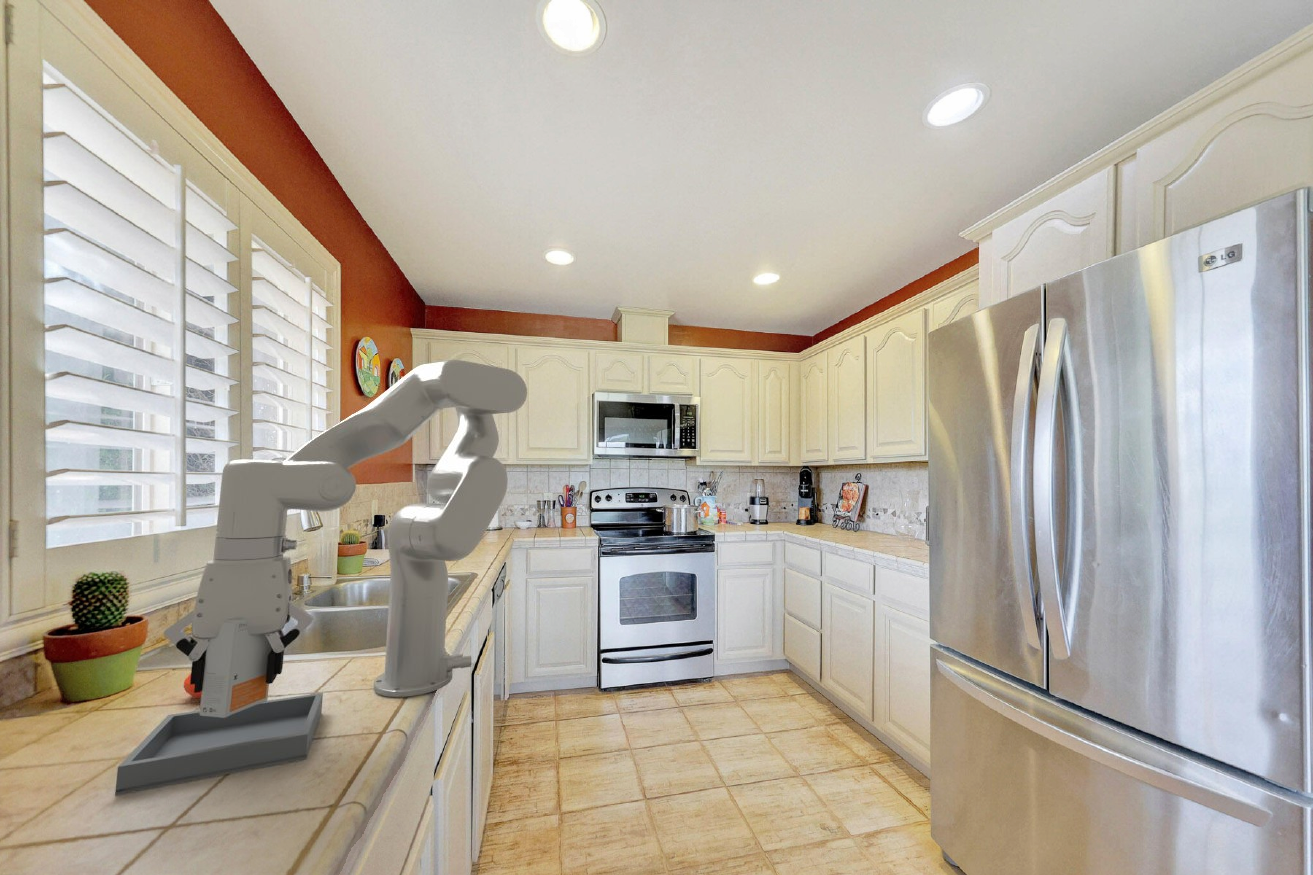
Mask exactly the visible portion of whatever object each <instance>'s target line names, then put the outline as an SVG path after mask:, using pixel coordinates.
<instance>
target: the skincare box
mask: <svg viewBox="0 0 1313 875" xmlns="http://www.w3.org/2000/svg"><path fill="white" fill-rule="evenodd" d="M271 648H272V647H271V645H270V643H269V641H268V639H267V637H266V635H265V634H264V635H254V636H252V635H249V634H248V630H247V623H246V620H245V619H240V620H226V621H224V622H223V624H222V626H221V629H220V632H219V634H218V637H216V638H214V639H211V640H210V644H209V645H208V647H207V650H206V659H205V668H204V677H203V686H202V695H201V698H200V705H199V710H200V713H199V714H200V715H201V716H210V717H220V718H226V717H228V716H230V715H232V714H235V713H237V712H240V711H242V710H245V709H247V708H250V707H252V706H255V705H257V704H260V703H263V702H266V701H268V698H269V697H268V695H269V689H270V688H269V687H270V684H267V683H266V673H267V662H268V654H269V653H270V652H271Z"/></svg>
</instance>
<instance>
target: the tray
mask: <svg viewBox="0 0 1313 875" xmlns="http://www.w3.org/2000/svg"><path fill="white" fill-rule="evenodd" d="M323 697H324V693H323V692H318V693H311V694H304V695H299V696H298V695H297V696H290V697H285V698H276V699H270V700H267V701H266V702H263V703H260V704H257V705H255V706H252V707H250V708H247V709H245V710H242V711H240V712H237V713H235V714H232V715H230V716H228V717H226V718H220V717H210V716H201V715H200V714H199V713H200V709H199V710H193V711H187V712H186V711H185V712H179V713H174V714H172V713H171V714H168V715H167V716H165V718H164V719H163V720H161V722H160V723H159V724H158V725H157V726H156V727H155V728H154V729H153V730H152V731H151V732H150V733H149V734H148V735H147V736H146V737H145V738H144V739H143V740H142V742H141V743H140V744H138V746H136V748H135V749H134V750H133V751H132V752H130V753H129V755H128V756H127V757H126V758H125V759H124V760H123V761H122V762H121V763H119V765H118V766H117V772H116V783H115V791H114V796H115V797H116V796H121V795H124V794H130V793H131V794H132V793H135V792H136V793H137V792H140V791H141V792H142V791H146V790H152V789H157V788H162V787H168V786H171V785H172V786H174V785H177V784H184V783H187V782H188V783H190V782H194V781H199V780H204V779H209V778H214V777H221V776H225V775H230V774H237V773H241V772H247V771H250V770H252V771H253V770H257V769H263V768H267V767H272V766H273V767H274V766H277V765H283V764H287V763H288V764H289V763H293V762H297V761H304V760H307V757H308V755H309V751H310V749H311V746H312V743H313V740H314V737H315V734H316V730H317V728H318V725H319V721H320V720H321V717H322V712H323V710H322V708H323Z"/></svg>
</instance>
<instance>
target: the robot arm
mask: <svg viewBox="0 0 1313 875" xmlns="http://www.w3.org/2000/svg"><path fill="white" fill-rule="evenodd" d="M527 397H528V388H527V384H526V382H525V381H524V378H523V377H521V375H520V374H519V373H517V372H516V371H514V370H512V369H508V368H504V367H500V366H499V367H498V366H494V365H493V366H492V365H488V364H482V363H476V362H472V361H466V360H462V359H461V360H460V359H448V360H442V361H435V362H429V363H425V364H421V365H418V366H416V367H415V368H413V369H411V370H410V371H409V372H408V373H407V374H406V375H404V376H403V377H402V378H400V379H399V380H397V381H396V382H395V383H394V384H393V385H392V386H390V387H389V388H388V389H387V390H386V391H384V392H383V393H382V394H381V395H379V396H378V397H377V398H375V399H374V400H373V401H372V402H370V403H369V404H367V406H365V407H363V408H362V409H360V410H359V411H357V412H355V413H353V414H351V415H350V416H348V417H347V418H344V420H342V421H340V422H339V423H337V424H335V425H334V426H331V427H330V428H328V429H326V430H325V431H323V432H321V433H320V434H318V435H317V436H315V437H313V438H312V439H311V440H309V441H308V442H307V443H305V444H304V445H303V446H301V447H300V448H298V450H296V451H295V452H293V454H291V455H290V456H289V457H287V458H286V459H285V460H283V461H278V460H271V459H270V460H267V459H234V460H231V461H228V462H227V463H226V464H225V465H224V466H223V469H222V473H221V483H220V492H219V493H220V494H219V503H218V509H217V510H218V512H217V523H216V531H215V542H214V550H213V559H210V560H208V561H207V562H206V565H205V567H204V570H203V572H202V576H201V580H200V582H199V585H198V590H197V595H196V598H195V603H194V609H193V610H191V611H190V612H189V613H188V614H186V615H185V616H183V617H182V618H180V619H179V620H177V621H176V622H175V623H173V624H172V625H170V626H169V627H168V628H166V629H165V630H164V631H163V636H164V637H165V638H166V639H167V640H169V642H170V643H172V644H174V646H176V649H177V650H179V651H180V652H182V653H183V654H184V655H185V656H187V658H188V660H189V661H190V662H191V672H190V674H191V679H190V684H191V685H192V684H195V688H194V693H198V692H201V691H202V686H203V677H204V668H205V659H206V650H207V647H208V645H209V644H210V640H211V639H214V638H216V637H218V634H219V632H220V629H221V626H222V624H223V622H224V621H226V620H240V619H245V620H246V623H247V630H248V634H249V635H252V636H254V635H264V634H265V635H266V637H267V639H268V641H269V643H270V645H271V647H272V648H271V652H270V653H269V654H268V662H267V673H266V683H267V684H269V685H270V684H273V683H274V681H275V680H276V678H277V676H278V675H281V674H282V673H283V666H284V656H285V654H284V653H285V649H286V648H287V647H288V646H290V644H291V643H293V641H295V640H296V639H297V638H298V637H299V636H300V635H301V634H302V633H303V632H304V631H305V630H306V629H307V628H308V627H309V626H310V625H312V622H313V621H314V620H315V619H314V616H313V615H311V614H310V613H309V612H307V611H306V610H304V609H303V608H301V607H300V606H299V605H298V604H296V603H294V601H293V569H292V562H291V557H290V556H284V554H285V553H286V552H288V551H291V550H293V551H294V550H297V544H298V540H297V539H295V540H294V539H293V540H292V539H290V538H288V537H287V534H286V530H287V529H286V528H287V521H288V519H287V518H288V510H300V511H309V512H310V511H311V512H318V513H319V512H323V513H324V512H330V511H334V510H337V509H340V508H342V507H344V506H345V505H346V504H348V503H349V502H350V501H351V499H352V498H353V497H354V496H355V493H356V490H357V482H356V478H355V476H354V474H353V473H352V472H351V470H349V469H350V468H352V467H354V466H355V465H357V464H359V463H361V462H363V461H366V460H368V459H370V458H373V457H376V456H378V455H379V456H380V455H382V454H385V453H388V452H391V451H392V450H395V449H397V448H399V447H401V446H404V444H405V443H407V442H408V441H409V440H411V438H412V437H414V435H415V434H417V432H418V431H419V430H421V429H422V428H423V427H424V426H425V425H426V424H427V423H429V422H430V421H431V419H433V418H434V417H435V416H436V415H437V414H438V413H439V412H440V411H442V410H443V409H449V408H455V411H456V415H457V422H458V424H457V430H456V431H455V435H454V436H453V438H452V440H451V441H450V443H449V445H448V446H447V447H446V449H445V451H444V452H443V453H442V455H441V457H440V458H439V459H438V461H437V463H436V464H435V466H434V467H433V468H432V470H431V472H430V474H429V475H428V479H427V482H426V489H427V493H428V494H429V496H430V497H431V498H432V499H434V500H435V501H437V502H439V503H430V502H429V503H427V502H419V503H411V504H408V505H406V506H404V507H401V508H400V509H398V511H396V513H395V514H394V515H393V516H392V517H391V520H390V521H389V524H388V527H387V536H386V538H387V540H386V541H387V548H388V553H389V555H388V556H389V563H390V564H389V565H390V568H389V569H390V578H389V579H390V581H389V582H390V583H389V596H388V611H387V627H386V628H387V629H386V644H385V645H386V646H385V661H384V662H385V663H384V672H383V673H382V674H380V675H378V676H377V677H376V678H375V679H374V681H373V690H374V691H375V693H377V694H378V695H381V696H384V697H390V698H391V697H392V698H406V697H407V698H408V697H415V696H419V695H426V694H429V693H432V692H436V691H437V690H439V689H442V688H444V687H445V686H447V685H448V684H449V683H450V682H451V681H452V680H453V670H454V669H465V668H471V667H472V655H466V656H465V655H464V654H463V653H459V654H455V655H454V654H453V655H450V654H447V649H446V648H445V647H446V629H447V608H448V592H449V573H448V567H447V563H446V562H455V561H460V560H463V559H465V558H467V557H468V556H469V555H470V554H472V553H473V552H474V550H475V549H476V548H477V547H478V545H479V544H480V542H481V541H482V539H483V537H484V535H485V533H486V531H488V528H489V526H490V524H492V521H493V519H494V517H495V515H496V514H497V511H498V510H499V508H500V507H501V505H502V502H503V501H504V498H505V495H506V494H507V490H508V473H507V469H506V468H505V466H504V464H503V463H502V462H501V461H500V460H499V459H497V458H496V457H494V456H495V454H496V452H497V450H498V447H499V443H500V442H499V441H500V439H499V438H500V437H499V432H498V428H497V426H496V421H495V418H494V415H495V414H497V415H498V414H510V413H514V412H517V411H518V410H520V409H521V408H522V406H523V405H524V404H525V402H526V401H527V400H526V399H527ZM291 618H293V619H294V620H295V621H297V623H296V625H295V626H294V627H293V628H291V629H290V630H289V631H288V632H287V633H286V634H285V632H284V630H283V629H284V628H285V626H286V625H287V623H289V622H290V620H291ZM190 625H191V635H192V637H191V636H189V635H188V634H187V633H186V632H185V629H186V628H187V627H188V626H190ZM193 637H194V638H196V639H199V640H198V641H196V640H195V639H194V638H193Z"/></svg>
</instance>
